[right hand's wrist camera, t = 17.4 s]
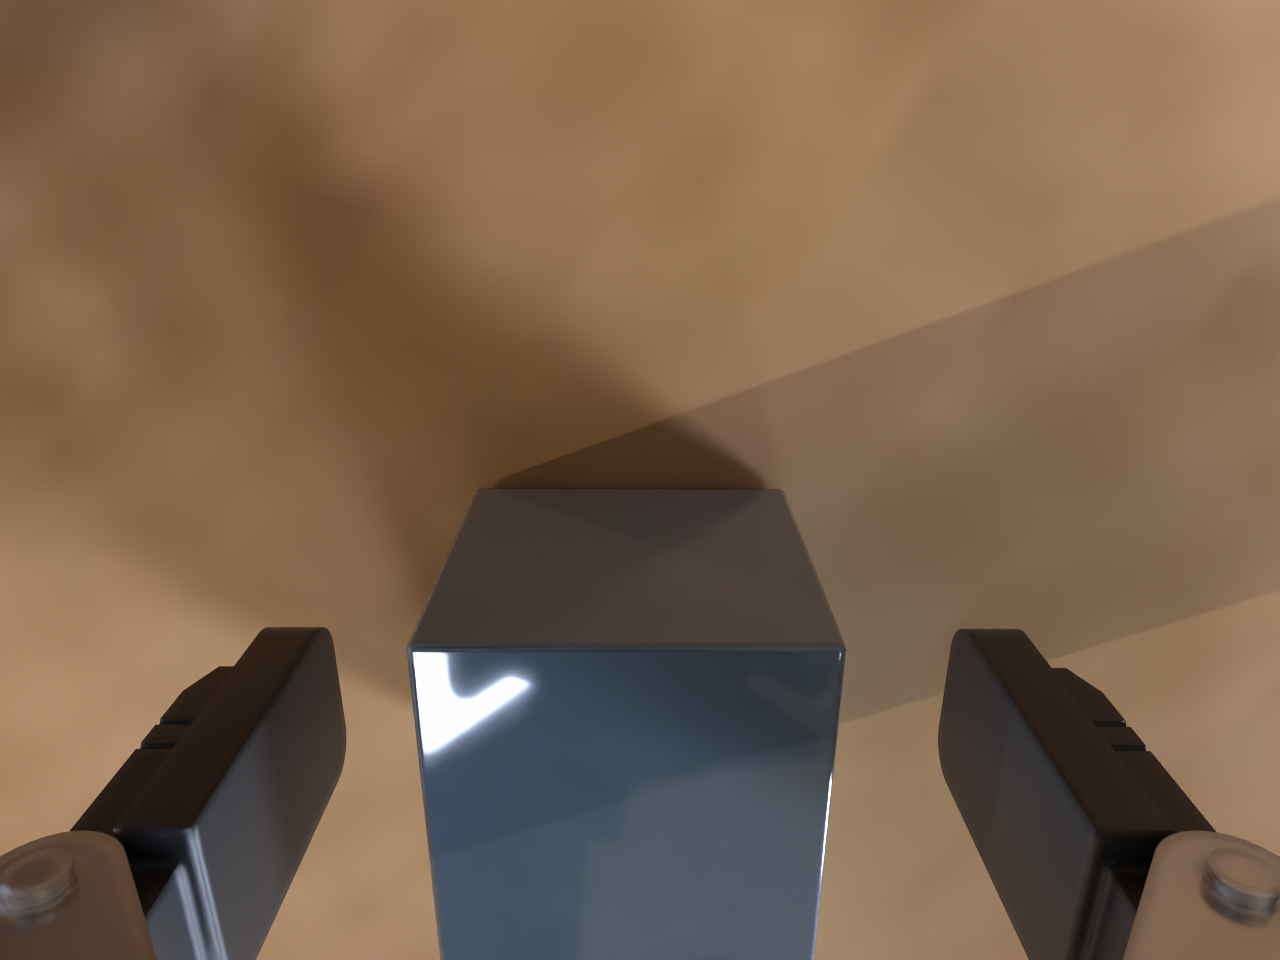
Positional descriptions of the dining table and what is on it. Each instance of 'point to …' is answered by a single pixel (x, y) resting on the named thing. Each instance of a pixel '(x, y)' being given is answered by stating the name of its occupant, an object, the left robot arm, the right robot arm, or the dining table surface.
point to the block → (627, 727)
